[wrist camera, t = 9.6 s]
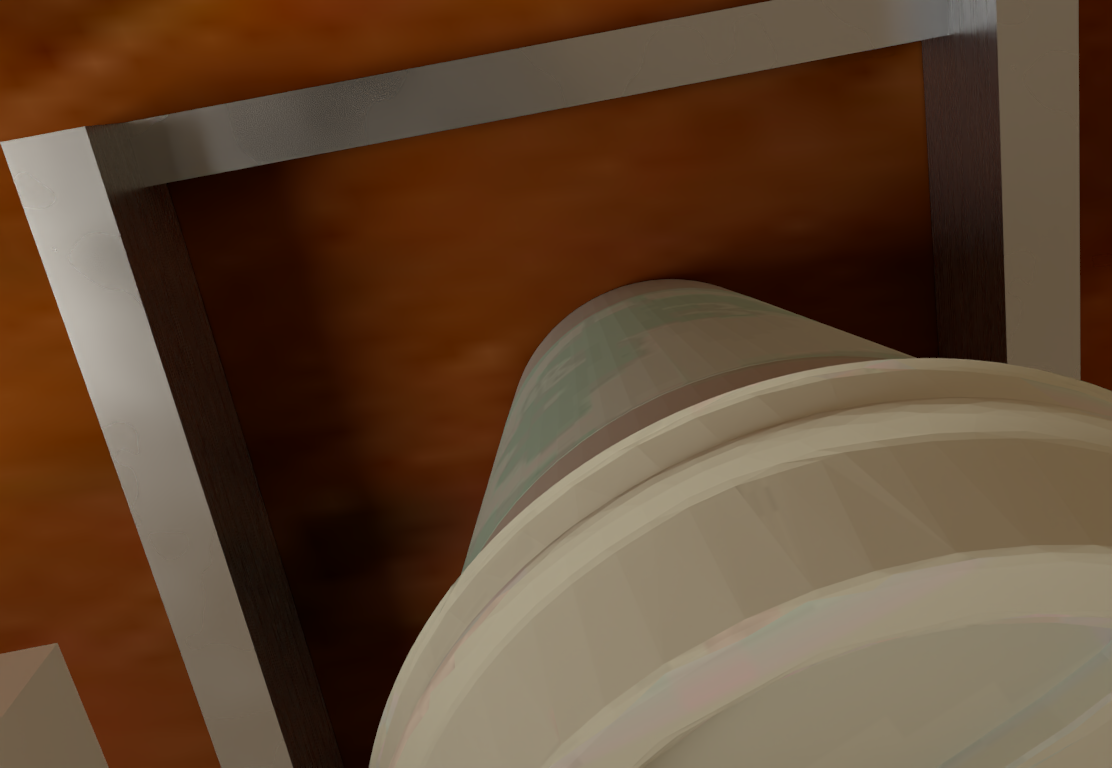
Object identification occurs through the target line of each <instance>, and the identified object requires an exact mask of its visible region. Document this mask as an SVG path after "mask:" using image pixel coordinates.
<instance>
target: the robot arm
mask: <svg viewBox="0 0 1112 768" xmlns="http://www.w3.org/2000/svg"><path fill="white" fill-rule="evenodd" d="M0 768H109V767H108V765H107V762H106V760H105V758H104V755H103V753H102V750H101V748H100V745H99V743H98V741H97V738H96V736H95V733H94V731H93V728H92V726H91V724H90V721H89V719H88V716H87V714H86V711H85V709H84V707H83V704H82V702H81V699H80V697H79V694H78V692H77V690H76V687H75V685H74V682H73V680H72V677H71V675H70V673H69V670H68V668H67V665H66V663H65V660H64V658H63V655H62V653H61V651H60V648H59V646H58V643H55V644H49V645H44V646H39V647H34V648H29V649H24V650H19V651H14V652H8V653H3V654H0Z"/></svg>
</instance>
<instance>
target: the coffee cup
mask: <svg viewBox="0 0 1112 768" xmlns="http://www.w3.org/2000/svg"><path fill="white" fill-rule="evenodd" d="M369 768H1112V391H1111V390H1108V389H1105V388H1102V387H1099V386H1097V385H1094V384H1091V383H1088V382H1085V381H1081V380H1078V379H1075V378H1071V377H1068V376H1064V375H1060V374H1057V373H1052V372H1048V371H1043V370H1039V369H1034V368H1029V367H1024V366H1018V365H1012V364H1005V363H998V362H989V361H980V360H967V359H948V358H915V357H913V356H910V355H907V354H904V353H902V352H899V351H896V350H894V349H891V348H888V347H885V346H883V345H880V344H877V343H874V342H872V341H869V340H866V339H864V338H861V337H858V336H855V335H853V334H850V333H847V332H844V331H842V330H839V329H836V328H833V327H831V326H828V325H825V324H823V323H820V322H817V321H814V320H812V319H809V318H806V317H803V316H801V315H798V314H795V313H793V312H790V311H787V310H784V309H782V308H779V307H776V306H773V305H771V304H768V303H765V302H763V301H760V300H757V299H754V298H751V297H749V296H745V295H742V294H739V293H737V292H734V291H731V290H728V289H725V288H722V287H719V286H716V285H712V284H708V283H704V282H699V281H692V280H681V279H660V280H650V281H644V282H639V283H634V284H630V285H626V286H623V287H620V288H617V289H614V290H612V291H609V292H607V293H604V294H602V295H600V296H598V297H596V298H594V299H592V300H590V301H589V302H587V303H585V304H584V305H582V306H581V307H579V308H578V309H576V310H575V311H573V312H572V313H571V314H569V315H568V316H567V317H566V318H565V319H563V320H562V321H561V322H560V323H559V324H558V325H557V326H556V327H555V328H554V329H553V330H552V331H551V332H550V333H549V334H548V335H547V337H546V338H545V339H544V340H543V341H542V343H541V344H540V345H539V347H538V348H537V349H536V351H535V352H534V354H533V356H532V357H531V359H530V361H529V362H528V364H527V366H526V368H525V370H524V372H523V375H522V377H521V379H520V382H519V385H518V387H517V390H516V393H515V397H514V400H513V403H512V406H511V409H510V412H509V415H508V418H507V421H506V425H505V428H504V431H503V435H502V438H501V442H500V445H499V448H498V452H497V455H496V458H495V462H494V465H493V469H492V472H491V475H490V479H489V482H488V485H487V489H486V492H485V496H484V499H483V502H482V506H481V509H480V512H479V516H478V519H477V523H476V526H475V529H474V533H473V536H472V539H471V543H470V546H469V549H468V553H467V556H466V560H465V563H464V566H463V570H462V573H461V575H460V577H459V578H458V579H457V580H456V582H455V583H454V584H453V585H452V587H451V588H450V589H449V591H448V592H447V593H446V595H445V596H444V597H443V599H442V600H441V602H440V603H439V604H438V606H437V607H436V609H435V610H434V612H433V613H432V615H431V616H430V618H429V619H428V621H427V623H426V624H425V626H424V627H423V629H422V631H421V632H420V634H419V636H418V637H417V639H416V641H415V643H414V645H413V646H412V648H411V650H410V652H409V654H408V656H407V658H406V660H405V662H404V664H403V666H402V668H401V670H400V672H399V674H398V676H397V679H396V681H395V683H394V685H393V688H392V690H391V693H390V695H389V698H388V700H387V703H386V706H385V709H384V711H383V714H382V717H381V721H380V724H379V727H378V730H377V734H376V738H375V741H374V745H373V750H372V754H371V758H370V763H369Z"/></svg>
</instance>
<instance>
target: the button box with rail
mask: <svg viewBox="0 0 1112 768" xmlns="http://www.w3.org/2000/svg"><path fill="white" fill-rule="evenodd" d="M920 40H922V55H923V73H924V91H925V110H926V128H927V147H928V165H929V184H930V202H931V220H932V239H933V257H934V276H935V294H936V312H937V331H938V349H939V358H948V359H967V360H980V361H989V362H998V363H1005V364H1012V365H1018V366H1024V367H1029V368H1034V369H1039V370H1043V371H1048V372H1052V373H1057V374H1060V375H1064V376H1068V377H1071V378H1075V379H1078V380H1080V191H1079V0H772V1H767V2H761V3H756V4H751V5H746V6H740V7H735V8H730V9H724V10H719V11H714V12H708V13H703V14H698V15H693V16H687V17H682V18H677V19H671V20H666V21H661V22H655V23H650V24H645V25H640V26H634V27H629V28H624V29H618V30H613V31H608V32H602V33H597V34H592V35H587V36H581V37H576V38H571V39H565V40H560V41H555V42H550V43H544V44H539V45H534V46H528V47H523V48H518V49H512V50H507V51H502V52H497V53H491V54H486V55H481V56H475V57H470V58H465V59H459V60H454V61H449V62H444V63H438V64H433V65H428V66H422V67H417V68H412V69H406V70H401V71H396V72H391V73H385V74H380V75H375V76H369V77H364V78H359V79H353V80H348V81H343V82H338V83H332V84H327V85H322V86H316V87H311V88H306V89H301V90H295V91H290V92H285V93H279V94H274V95H269V96H263V97H258V98H253V99H248V100H242V101H237V102H232V103H226V104H221V105H216V106H210V107H205V108H200V109H195V110H189V111H184V112H179V113H173V114H168V115H163V116H157V117H152V118H147V119H142V120H136V121H131V122H126V123H116V124H105V125H94V126H84V127H79V128H74V129H68V130H63V131H58V132H52V133H47V134H42V135H37V136H31V137H26V138H21V139H15V140H10V141H5V142H0V143H1V146H2V149H3V151H4V154H5V157H6V160H7V163H8V166H9V168H10V171H11V174H12V177H13V180H14V183H15V185H16V188H17V191H18V194H19V197H20V200H21V202H22V205H23V208H24V211H25V214H26V217H27V219H28V222H29V225H30V228H31V231H32V233H33V236H34V239H35V242H36V245H37V248H38V250H39V253H40V256H41V259H42V262H43V265H44V267H45V270H46V273H47V276H48V279H49V282H50V284H51V287H52V290H53V293H54V296H55V298H56V301H57V304H58V307H59V310H60V313H61V315H62V318H63V321H64V324H65V327H66V330H67V332H68V335H69V338H70V341H71V344H72V347H73V349H74V352H75V355H76V358H77V361H78V364H79V366H80V369H81V372H82V375H83V378H84V380H85V383H86V386H87V389H88V392H89V395H90V397H91V400H92V403H93V406H94V409H95V412H96V414H97V417H98V420H99V423H100V426H101V429H102V431H103V434H104V437H105V440H106V443H107V445H108V448H109V451H110V454H111V457H112V460H113V462H114V465H115V468H116V471H117V474H118V477H119V479H120V482H121V485H122V488H123V491H124V494H125V496H126V499H127V502H128V505H129V508H130V510H131V513H132V516H133V519H134V522H135V525H136V527H137V530H138V533H139V536H140V539H141V542H142V544H143V547H144V550H145V553H146V556H147V559H148V561H149V564H150V567H151V570H152V573H153V576H154V578H155V581H156V584H157V587H158V590H159V592H160V595H161V598H162V601H163V604H164V607H165V609H166V612H167V615H168V618H169V621H170V624H171V626H172V629H173V632H174V635H175V638H176V641H177V643H178V646H179V649H180V652H181V655H182V657H183V660H184V663H185V666H186V669H187V672H188V674H189V677H190V680H191V683H192V686H193V689H194V691H195V694H196V697H197V700H198V703H199V706H200V708H201V711H202V714H203V717H204V720H205V723H206V725H207V728H208V731H209V734H210V737H211V739H212V742H213V745H214V748H215V751H216V754H217V756H218V759H219V762H220V765H221V768H344V765H343V762H342V758H341V755H340V752H339V748H338V745H337V742H336V739H335V735H334V732H333V729H332V725H331V722H330V719H329V716H328V712H327V709H326V706H325V702H324V699H323V696H322V693H321V689H320V686H319V683H318V679H317V676H316V673H315V669H314V666H313V663H312V660H311V656H310V653H309V650H308V646H307V643H306V640H305V637H304V633H303V630H302V627H301V623H300V620H299V617H298V614H297V610H296V607H295V604H294V600H293V597H292V594H291V591H290V587H289V584H288V581H287V577H286V574H285V571H284V568H283V564H282V561H281V558H280V554H279V551H278V548H277V545H276V541H275V538H274V535H273V531H272V528H271V525H270V521H269V518H268V515H267V512H266V508H265V505H264V502H263V498H262V495H261V492H260V489H259V485H258V482H257V479H256V475H255V472H254V469H253V466H252V462H251V459H250V456H249V452H248V449H247V446H246V443H245V439H244V436H243V433H242V429H241V426H240V423H239V420H238V416H237V413H236V410H235V406H234V403H233V400H232V396H231V393H230V390H229V387H228V383H227V380H226V377H225V373H224V370H223V367H222V364H221V360H220V357H219V354H218V350H217V347H216V344H215V341H214V337H213V334H212V331H211V327H210V324H209V321H208V318H207V314H206V311H205V308H204V304H203V301H202V298H201V295H200V291H199V288H198V285H197V281H196V278H195V275H194V271H193V268H192V265H191V262H190V258H189V255H188V252H187V248H186V245H185V242H184V239H183V235H182V232H181V229H180V225H179V222H178V219H177V216H176V212H175V209H174V206H173V202H172V199H171V196H170V193H169V189H168V186H167V183H169V182H174V181H180V180H185V179H190V178H196V177H201V176H206V175H211V174H217V173H222V172H227V171H233V170H238V169H243V168H248V167H254V166H259V165H264V164H270V163H275V162H280V161H285V160H291V159H296V158H301V157H307V156H312V155H317V154H322V153H328V152H333V151H338V150H344V149H349V148H354V147H359V146H365V145H370V144H375V143H381V142H386V141H391V140H396V139H402V138H407V137H412V136H418V135H423V134H428V133H433V132H439V131H444V130H449V129H455V128H460V127H465V126H470V125H476V124H481V123H486V122H492V121H497V120H502V119H507V118H513V117H518V116H523V115H529V114H534V113H539V112H544V111H550V110H555V109H560V108H566V107H571V106H576V105H581V104H587V103H592V102H597V101H603V100H608V99H613V98H618V97H624V96H629V95H634V94H640V93H645V92H650V91H655V90H661V89H666V88H671V87H677V86H682V85H687V84H692V83H698V82H703V81H708V80H714V79H719V78H724V77H729V76H735V75H740V74H745V73H751V72H756V71H761V70H766V69H772V68H777V67H782V66H788V65H793V64H798V63H803V62H809V61H814V60H819V59H825V58H830V57H835V56H840V55H846V54H851V53H856V52H862V51H867V50H872V49H877V48H883V47H888V46H893V45H899V44H904V43H909V42H914V41H920Z"/></svg>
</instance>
